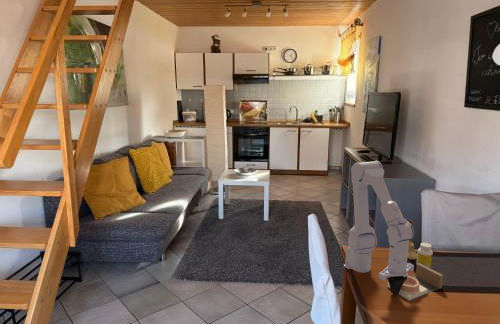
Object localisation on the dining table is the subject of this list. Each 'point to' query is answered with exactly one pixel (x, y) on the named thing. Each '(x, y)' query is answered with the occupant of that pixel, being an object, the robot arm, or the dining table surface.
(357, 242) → the robot arm
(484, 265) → the dining table surface
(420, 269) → the l-shaped bracket
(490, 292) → the dining table surface
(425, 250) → the supplement bottle
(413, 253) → the hand bell
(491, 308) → the dining table surface
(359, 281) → the dining table surface
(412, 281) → the square socket base
